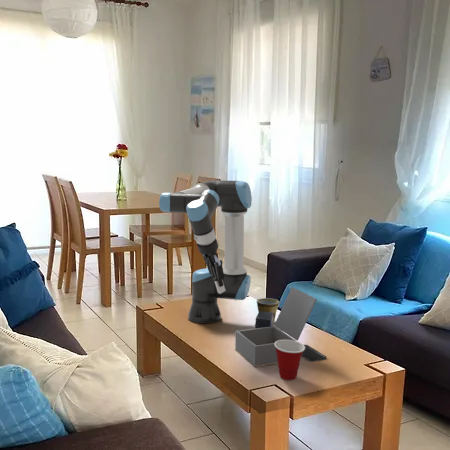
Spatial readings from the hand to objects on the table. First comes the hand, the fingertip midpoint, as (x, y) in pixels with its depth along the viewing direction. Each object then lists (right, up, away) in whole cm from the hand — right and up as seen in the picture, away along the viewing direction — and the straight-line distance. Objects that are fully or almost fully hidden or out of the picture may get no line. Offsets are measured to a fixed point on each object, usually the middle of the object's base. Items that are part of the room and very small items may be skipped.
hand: (221, 291), depth 219 cm
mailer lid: (+28, -8, +2) cm, 30 cm away
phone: (+34, -25, +3) cm, 42 cm away
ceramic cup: (+20, -19, +42) cm, 50 cm away
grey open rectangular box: (+17, -25, 0) cm, 30 cm away
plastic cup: (+24, -28, -19) cm, 42 cm away
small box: (+18, -22, +19) cm, 34 cm away
